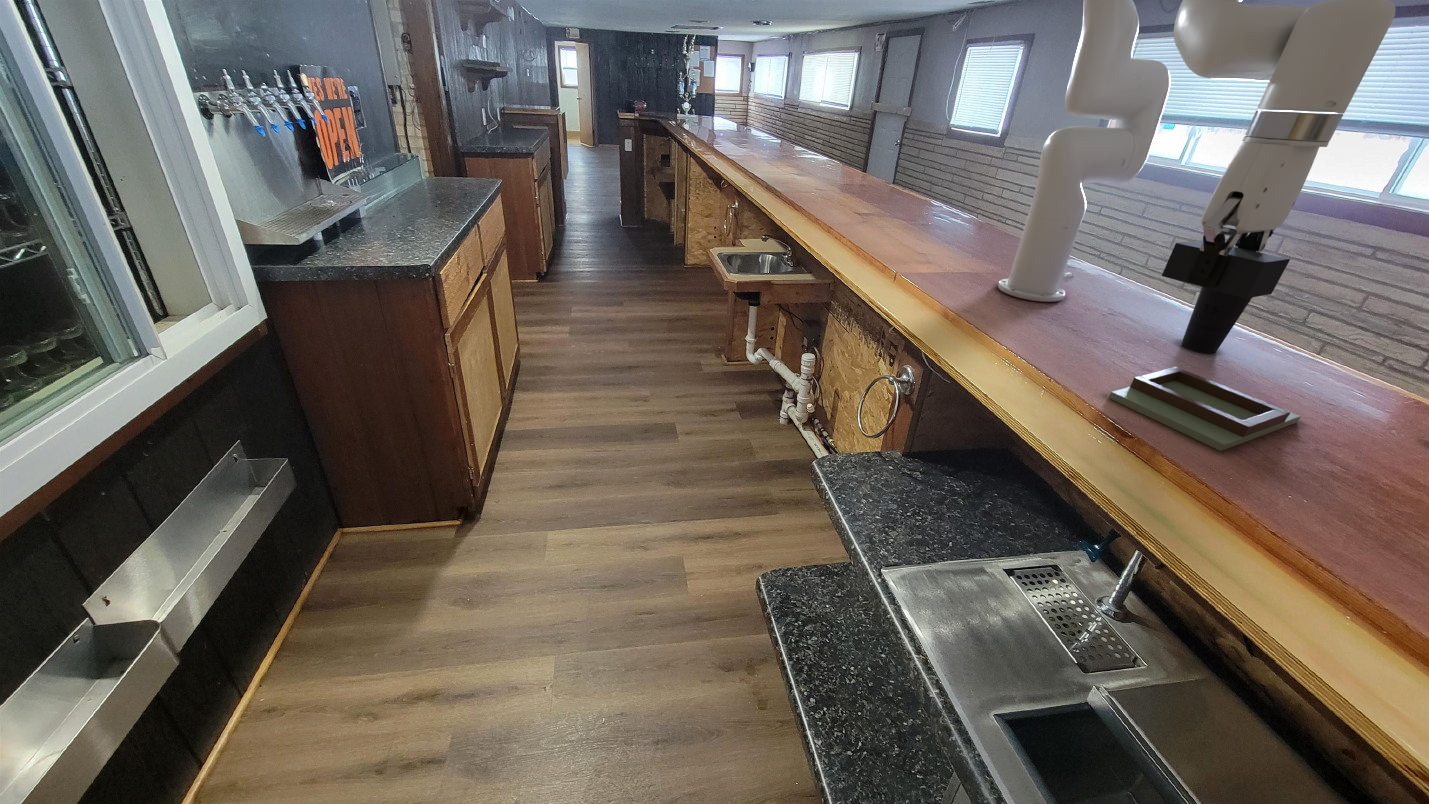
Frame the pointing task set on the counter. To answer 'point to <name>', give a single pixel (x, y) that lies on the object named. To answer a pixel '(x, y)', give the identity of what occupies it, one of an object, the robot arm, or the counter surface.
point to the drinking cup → (1212, 320)
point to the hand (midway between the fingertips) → (1216, 280)
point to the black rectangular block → (1231, 270)
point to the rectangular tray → (1202, 408)
